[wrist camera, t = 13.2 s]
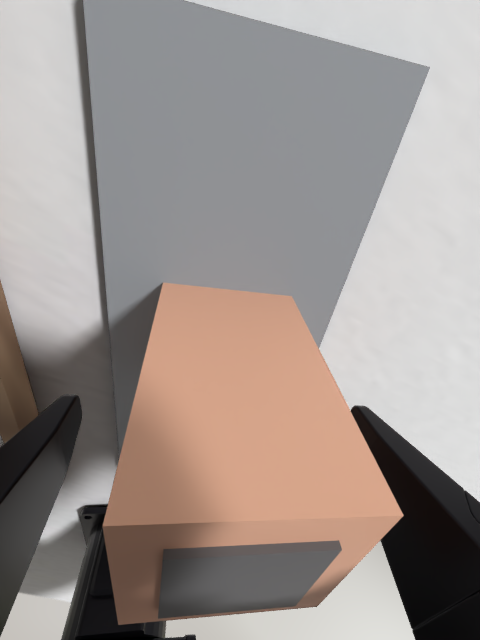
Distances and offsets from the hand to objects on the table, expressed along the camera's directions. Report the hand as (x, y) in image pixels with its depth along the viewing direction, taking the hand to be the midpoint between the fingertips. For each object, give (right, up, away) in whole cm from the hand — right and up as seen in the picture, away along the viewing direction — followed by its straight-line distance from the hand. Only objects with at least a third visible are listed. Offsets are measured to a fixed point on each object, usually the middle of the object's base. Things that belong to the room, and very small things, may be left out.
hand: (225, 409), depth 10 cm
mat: (0, +2, +3) cm, 4 cm away
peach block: (0, +2, +3) cm, 4 cm away
